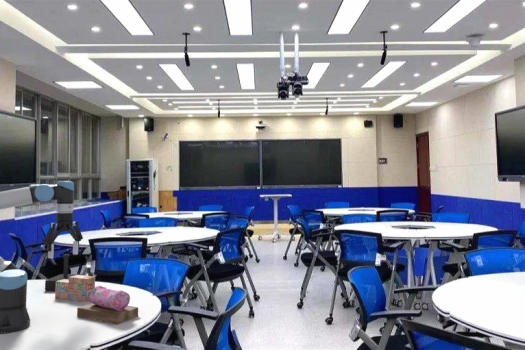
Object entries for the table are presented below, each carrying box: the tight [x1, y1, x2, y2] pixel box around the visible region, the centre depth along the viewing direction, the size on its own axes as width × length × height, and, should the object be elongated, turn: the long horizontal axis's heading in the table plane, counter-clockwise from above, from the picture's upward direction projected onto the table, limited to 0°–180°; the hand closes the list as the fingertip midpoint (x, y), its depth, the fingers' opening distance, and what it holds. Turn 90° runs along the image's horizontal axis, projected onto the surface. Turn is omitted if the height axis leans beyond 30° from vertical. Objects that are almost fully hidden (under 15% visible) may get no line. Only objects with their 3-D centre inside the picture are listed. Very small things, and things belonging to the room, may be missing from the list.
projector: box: [44, 253, 85, 292], centre depth 239 cm, size 19×17×20 cm
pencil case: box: [88, 285, 131, 311], centre depth 184 cm, size 21×9×9 cm, turn 55°
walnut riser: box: [76, 302, 139, 325], centre depth 184 cm, size 13×25×4 cm, turn 65°
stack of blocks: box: [54, 275, 96, 303], centre depth 214 cm, size 21×6×12 cm, turn 72°
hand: (63, 256), depth 191 cm, fingers open, 13 cm apart
